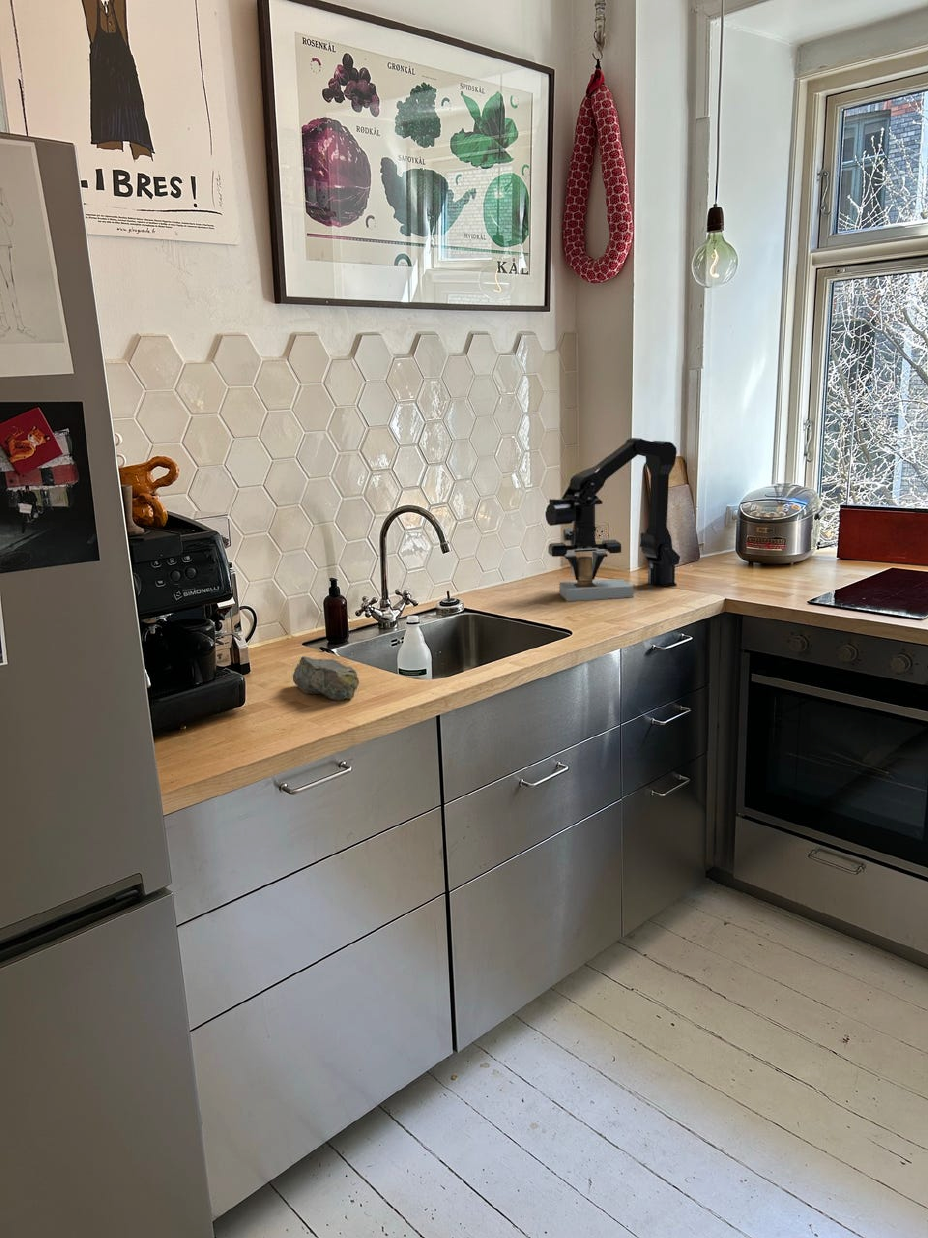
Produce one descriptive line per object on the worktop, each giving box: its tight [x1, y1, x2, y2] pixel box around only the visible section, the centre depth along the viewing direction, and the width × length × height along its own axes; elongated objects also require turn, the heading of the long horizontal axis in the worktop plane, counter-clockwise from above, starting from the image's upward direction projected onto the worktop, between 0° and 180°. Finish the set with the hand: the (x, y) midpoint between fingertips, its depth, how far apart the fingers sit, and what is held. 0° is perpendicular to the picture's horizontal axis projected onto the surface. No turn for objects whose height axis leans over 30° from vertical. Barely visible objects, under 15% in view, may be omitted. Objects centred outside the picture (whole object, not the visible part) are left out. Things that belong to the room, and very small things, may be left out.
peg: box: [576, 556, 594, 588], centre depth 239 cm, size 4×4×9 cm
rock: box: [292, 656, 360, 702], centre depth 170 cm, size 17×7×10 cm
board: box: [558, 578, 634, 602], centre depth 241 cm, size 18×10×3 cm, turn 95°
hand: (584, 579), depth 240 cm, fingers closed on peg, 4 cm apart
